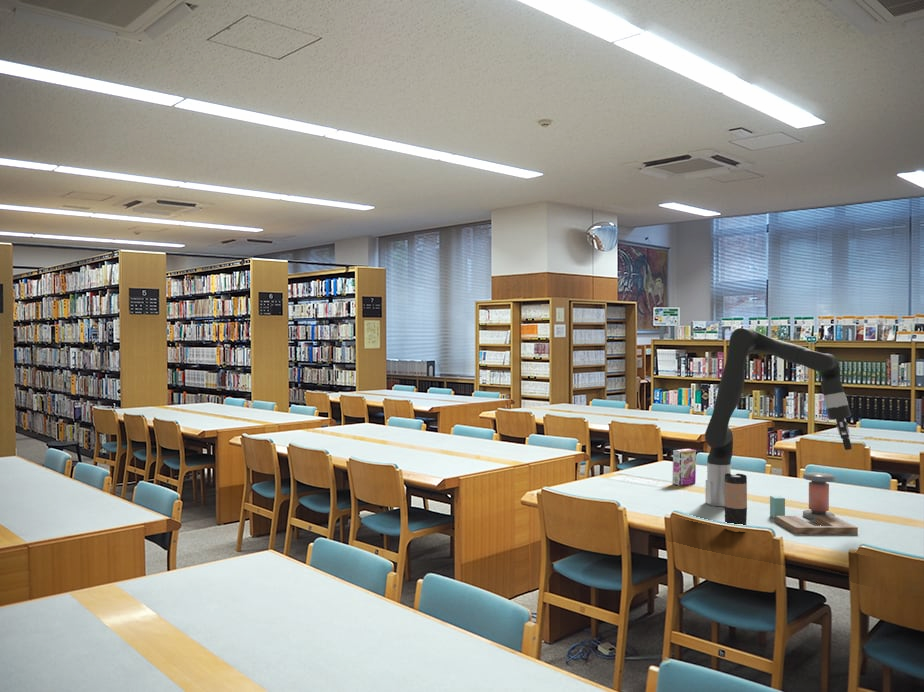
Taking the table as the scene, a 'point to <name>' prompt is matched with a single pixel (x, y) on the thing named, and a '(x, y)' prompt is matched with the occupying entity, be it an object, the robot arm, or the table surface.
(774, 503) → the teal peg
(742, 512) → the travel mug
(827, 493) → the bobbin
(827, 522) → the notched board
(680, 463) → the candy bar box
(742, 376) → the robot arm
